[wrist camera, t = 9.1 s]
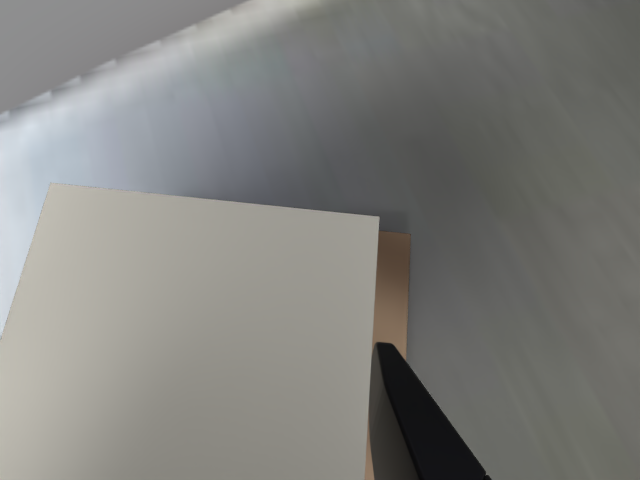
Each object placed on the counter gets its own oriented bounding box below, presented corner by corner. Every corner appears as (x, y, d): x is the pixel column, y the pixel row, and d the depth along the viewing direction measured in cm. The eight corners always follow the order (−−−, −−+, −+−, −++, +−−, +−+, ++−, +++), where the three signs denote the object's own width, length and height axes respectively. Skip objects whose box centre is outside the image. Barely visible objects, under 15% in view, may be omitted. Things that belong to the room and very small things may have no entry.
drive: (316, 465, 16) (346, 799, 4) (194, 452, 16) (-131, 753, 4) (331, 303, 17) (379, 213, 6) (221, 292, 17) (51, 179, 6)
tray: (391, 565, 16) (425, 654, 11) (101, 536, 16) (18, 615, 11) (404, 240, 20) (433, 209, 15) (170, 216, 19) (128, 177, 15)
